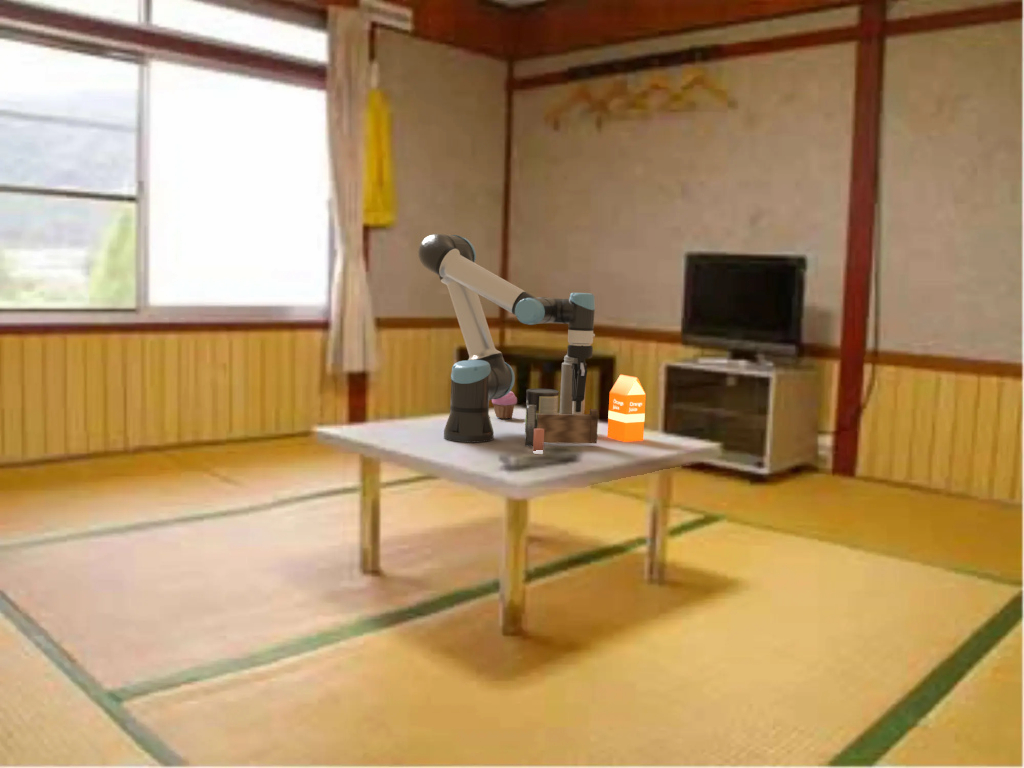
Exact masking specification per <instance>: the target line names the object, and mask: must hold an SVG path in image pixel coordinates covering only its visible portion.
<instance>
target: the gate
mask: <svg viewBox="0 0 1024 768" xmlns="http://www.w3.org/2000/svg"><path fill="white" fill-rule="evenodd" d="M598 421H599V410H598V409H596V408H590V409H589V413H588V414H587V413H586V414H585V413H584V414H560V413H557V414H537V428H541V429H544V444H545V443H546V444H547V443H548V444H549V443H550V444H553V443H554V444H597V442H598V426H599V425H598Z"/></svg>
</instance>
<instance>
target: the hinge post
mask: <svg viewBox="0 0 1024 768" xmlns="http://www.w3.org/2000/svg"><path fill="white" fill-rule="evenodd" d="M525 421H526V434H525V440H524V442H525V443H524V444H525V446H526V447H533V436H534V429H535V427H536V405H527V416H526V415H525Z"/></svg>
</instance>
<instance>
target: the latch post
mask: <svg viewBox="0 0 1024 768" xmlns="http://www.w3.org/2000/svg"><path fill="white" fill-rule="evenodd" d="M544 444H545V443H544V429H541V428H535V429H534V436H533V446H532V452H533V451H536V450H543V451H544V449H545V448H544V446H545V445H544Z"/></svg>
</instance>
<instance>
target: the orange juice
mask: <svg viewBox="0 0 1024 768" xmlns="http://www.w3.org/2000/svg"><path fill="white" fill-rule="evenodd" d="M646 396H647V395H646V391H645V390H644V388H643V386H642V384H641V382H640V380H639V378H638V377H637V376H633V375H626V374H621V373H620V375H619V377H618V378H617V380H616V381H615V382H614V384H613V386H612V388H611V389H610V391H609V397H608V398H609V401H608V403H609V404H608V413H607V414H608V416H607V417H608V418H607V438H609V439H613V440H617V441H619V442H620V441H621V442H624V443H627V442H628V443H629V442H639V441H640V442H641V441H644V433H645V432H644V429H645V415H646Z"/></svg>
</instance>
